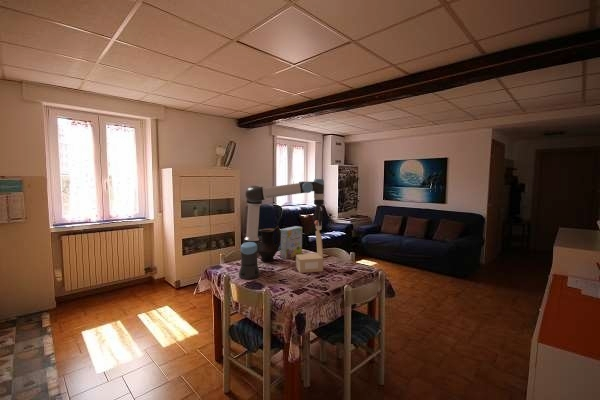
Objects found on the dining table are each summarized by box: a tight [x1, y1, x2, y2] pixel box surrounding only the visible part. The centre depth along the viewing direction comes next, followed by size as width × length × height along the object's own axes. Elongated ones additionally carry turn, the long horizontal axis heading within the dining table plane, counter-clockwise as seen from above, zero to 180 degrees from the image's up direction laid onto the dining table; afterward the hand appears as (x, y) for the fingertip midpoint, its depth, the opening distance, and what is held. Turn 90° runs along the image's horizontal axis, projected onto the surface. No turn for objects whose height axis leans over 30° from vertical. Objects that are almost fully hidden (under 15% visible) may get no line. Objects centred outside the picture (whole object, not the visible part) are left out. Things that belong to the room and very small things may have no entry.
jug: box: [258, 226, 281, 263], centre depth 241 cm, size 21×18×30 cm
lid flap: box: [314, 219, 324, 258], centre depth 221 cm, size 27×13×4 cm
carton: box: [295, 252, 324, 274], centre depth 221 cm, size 18×14×10 cm
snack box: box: [280, 225, 303, 260], centre depth 256 cm, size 22×9×26 cm, turn 143°
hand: (318, 229), depth 221 cm, fingers closed on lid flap, 5 cm apart
